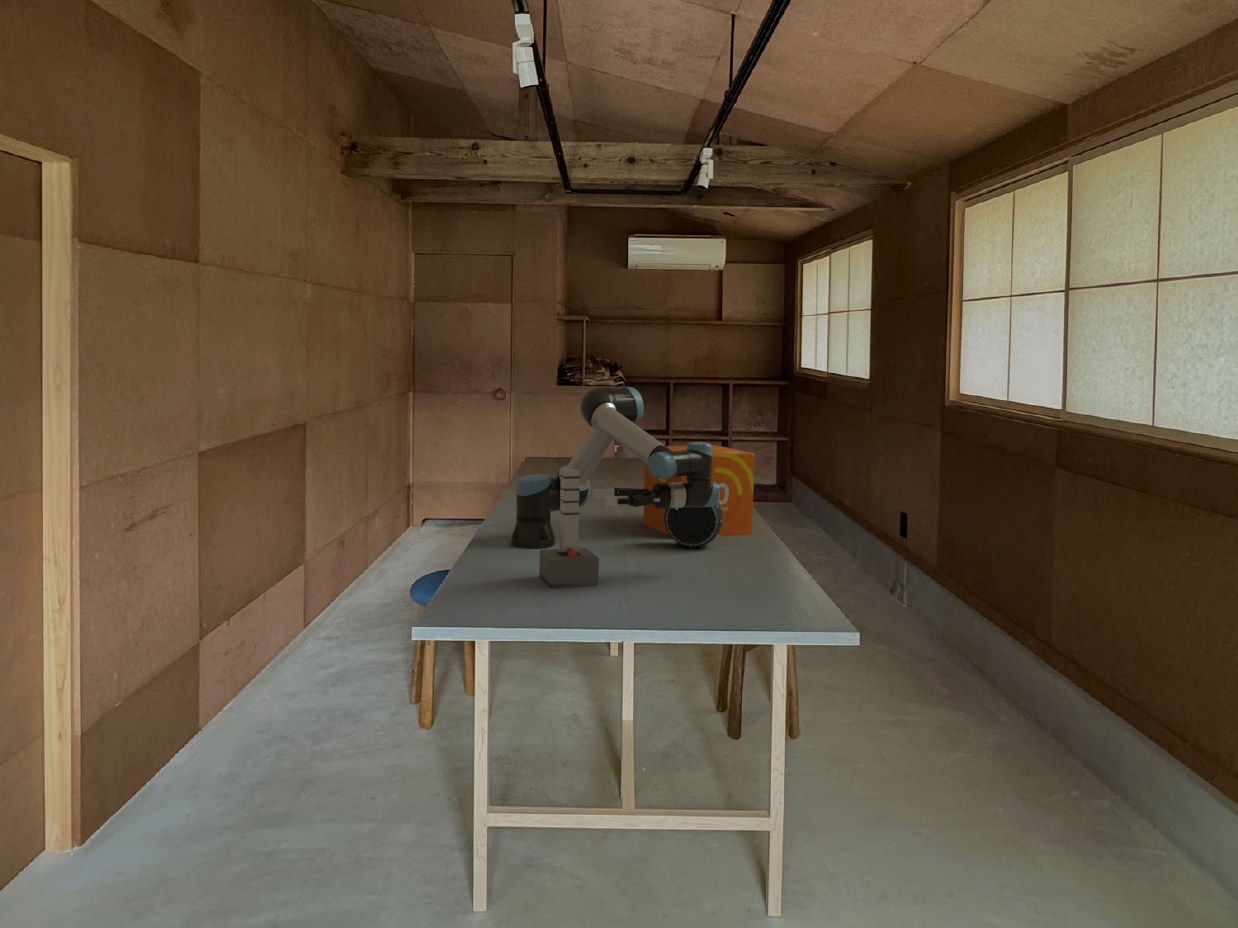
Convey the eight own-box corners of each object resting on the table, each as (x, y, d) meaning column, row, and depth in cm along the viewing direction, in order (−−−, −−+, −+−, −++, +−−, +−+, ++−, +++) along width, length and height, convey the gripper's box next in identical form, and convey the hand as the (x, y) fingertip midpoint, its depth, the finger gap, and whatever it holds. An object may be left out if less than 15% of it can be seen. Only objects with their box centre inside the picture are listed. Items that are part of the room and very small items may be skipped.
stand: (550, 587, 273) (551, 554, 272) (539, 576, 286) (539, 544, 285) (598, 585, 277) (599, 552, 276) (585, 573, 290) (585, 542, 289)
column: (563, 551, 278) (564, 471, 275) (559, 547, 282) (560, 469, 279) (578, 550, 279) (580, 471, 276) (574, 546, 283) (575, 468, 281)
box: (678, 539, 345) (681, 455, 341) (643, 524, 372) (645, 446, 369) (751, 534, 357) (754, 453, 353) (712, 520, 384) (714, 444, 381)
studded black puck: (720, 551, 326) (722, 492, 323) (661, 547, 330) (662, 489, 327) (723, 545, 336) (725, 488, 334) (666, 541, 340) (667, 485, 338)
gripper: (682, 515, 276) (611, 517, 270) (653, 501, 300) (587, 503, 294) (683, 489, 275) (612, 491, 269) (654, 477, 299) (588, 478, 293)
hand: (599, 497), depth 281 cm, fingers open, 13 cm apart
